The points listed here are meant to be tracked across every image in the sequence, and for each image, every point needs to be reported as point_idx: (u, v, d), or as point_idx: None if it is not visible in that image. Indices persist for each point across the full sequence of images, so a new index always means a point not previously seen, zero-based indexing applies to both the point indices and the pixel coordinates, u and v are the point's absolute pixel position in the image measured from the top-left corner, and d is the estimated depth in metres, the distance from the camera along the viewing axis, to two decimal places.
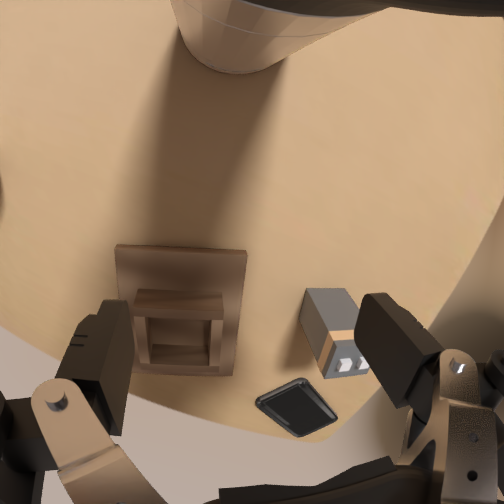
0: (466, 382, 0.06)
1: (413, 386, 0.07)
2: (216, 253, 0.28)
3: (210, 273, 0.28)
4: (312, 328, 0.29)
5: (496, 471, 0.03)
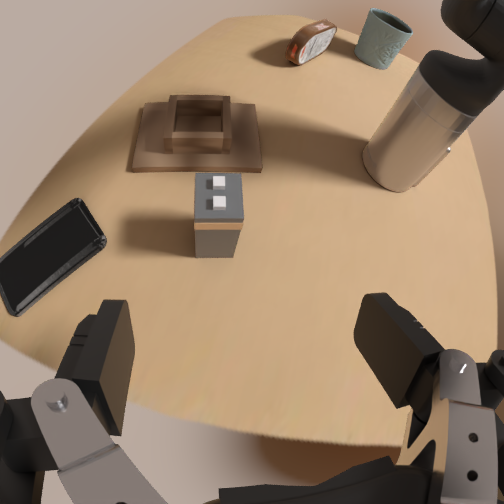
0: (466, 382, 0.06)
1: (413, 386, 0.07)
2: (260, 151, 0.39)
3: (244, 147, 0.38)
4: None
5: (496, 471, 0.03)
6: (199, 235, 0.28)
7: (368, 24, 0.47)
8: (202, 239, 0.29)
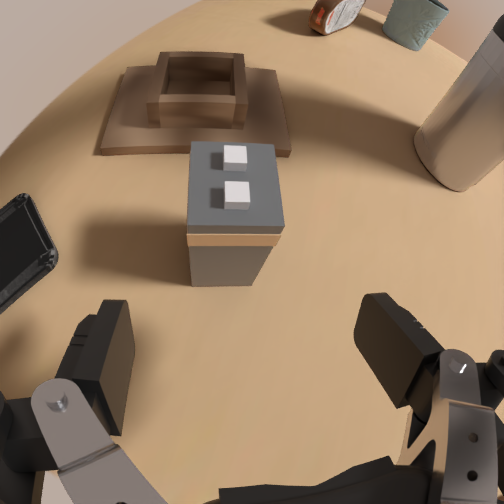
0: (466, 382, 0.06)
1: (413, 386, 0.07)
2: (286, 128, 0.26)
3: (264, 122, 0.26)
4: None
5: (496, 471, 0.03)
6: (197, 255, 0.15)
7: None
8: (202, 261, 0.16)
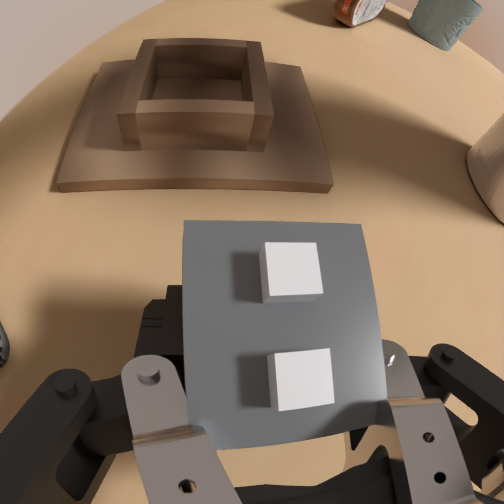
0: (389, 374, 0.06)
1: None
2: None
3: (293, 140, 0.18)
4: None
5: (464, 464, 0.03)
6: None
7: None
8: None
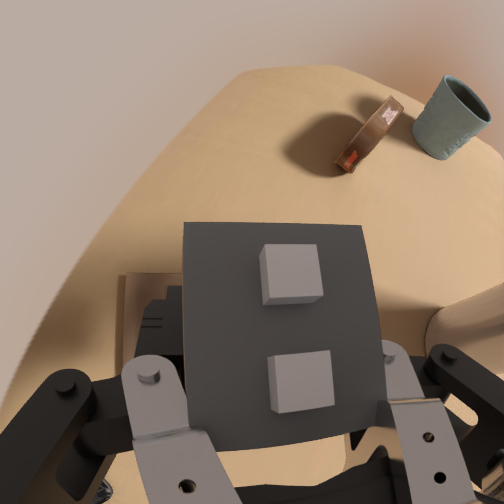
0: (389, 374, 0.06)
1: None
2: None
3: None
4: None
5: (464, 464, 0.03)
6: None
7: (440, 102, 0.36)
8: None
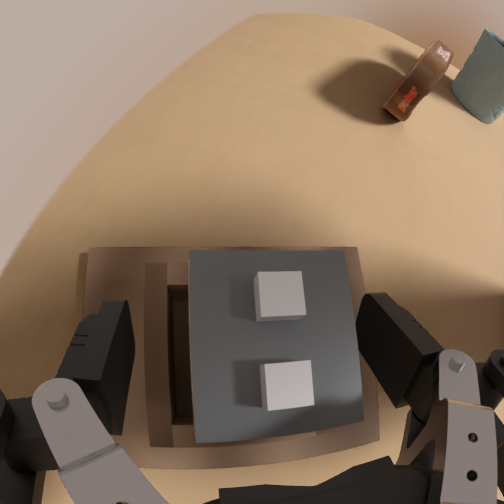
0: (465, 382, 0.06)
1: (412, 386, 0.07)
2: (376, 396, 0.15)
3: None
4: None
5: (496, 471, 0.03)
6: None
7: (485, 54, 0.24)
8: None
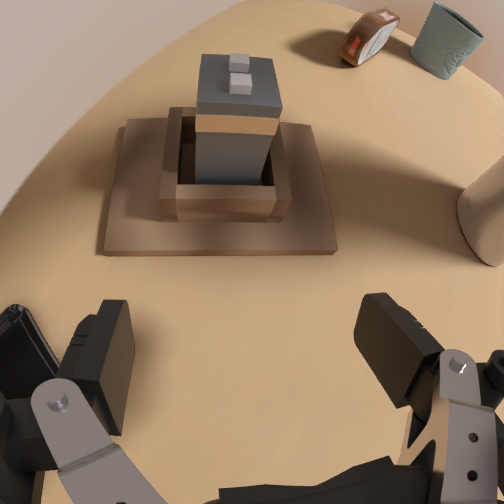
0: (466, 382, 0.06)
1: (413, 386, 0.07)
2: (330, 215, 0.23)
3: (305, 209, 0.22)
4: None
5: (496, 471, 0.03)
6: (203, 147, 0.16)
7: (433, 21, 0.32)
8: (207, 157, 0.17)
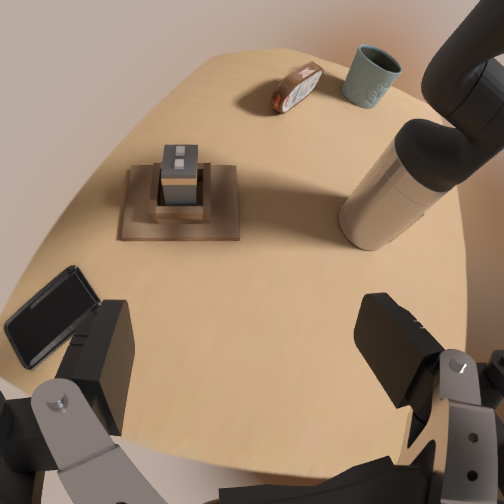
0: (466, 382, 0.06)
1: (413, 386, 0.07)
2: (238, 219, 0.43)
3: (224, 216, 0.43)
4: None
5: (496, 471, 0.03)
6: (166, 190, 0.36)
7: (356, 63, 0.52)
8: (169, 194, 0.37)
